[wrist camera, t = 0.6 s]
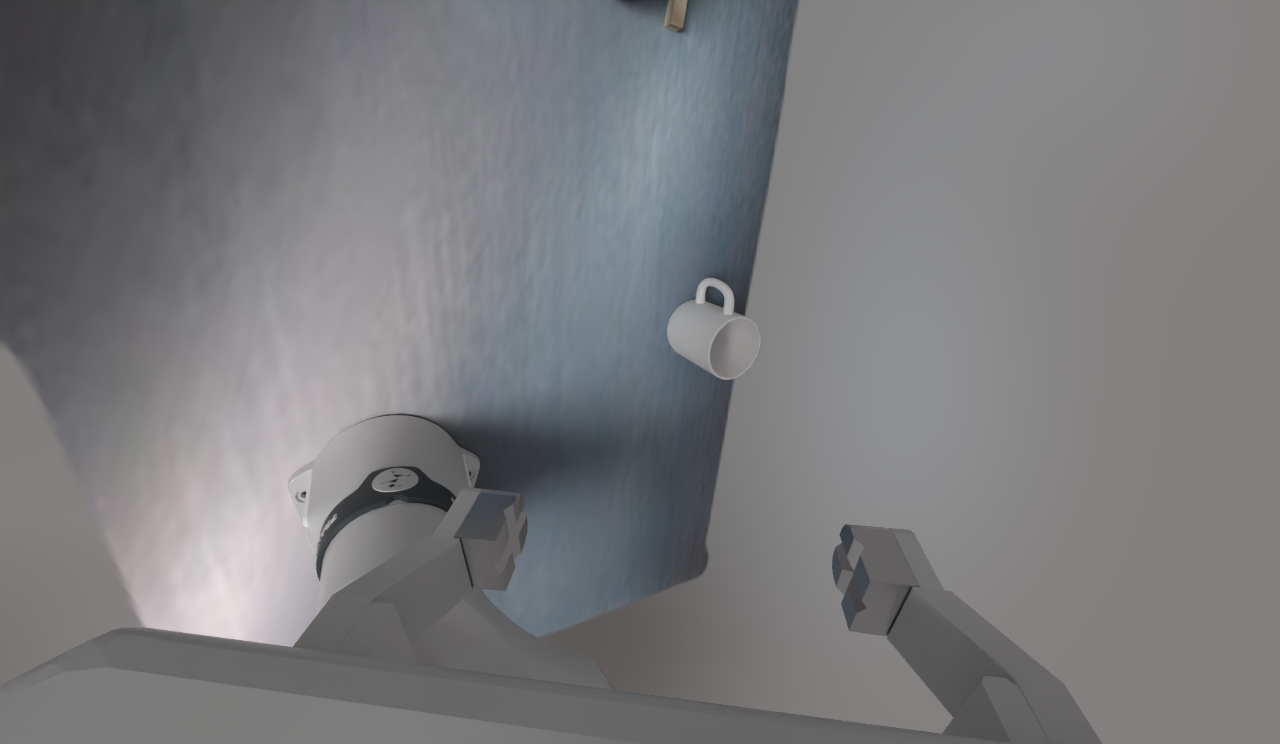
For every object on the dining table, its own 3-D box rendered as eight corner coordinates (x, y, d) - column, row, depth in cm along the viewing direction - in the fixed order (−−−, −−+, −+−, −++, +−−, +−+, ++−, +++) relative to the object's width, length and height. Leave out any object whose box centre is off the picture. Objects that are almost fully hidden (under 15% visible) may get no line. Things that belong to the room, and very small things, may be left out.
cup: (664, 359, 64) (706, 386, 56) (665, 274, 60) (711, 290, 51) (711, 348, 68) (758, 372, 60) (716, 268, 63) (767, 282, 55)
